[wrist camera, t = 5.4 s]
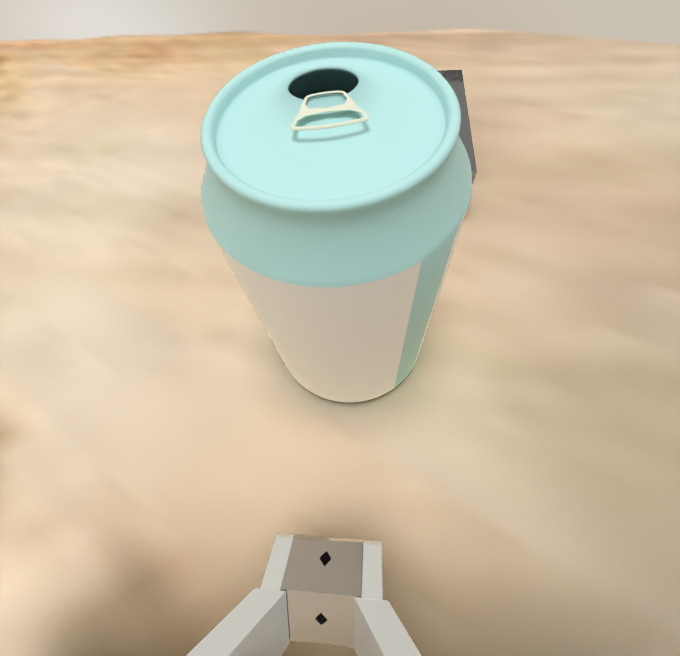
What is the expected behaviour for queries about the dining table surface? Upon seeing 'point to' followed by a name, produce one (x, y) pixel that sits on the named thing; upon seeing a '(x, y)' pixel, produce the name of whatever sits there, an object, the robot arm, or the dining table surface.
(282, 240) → the can
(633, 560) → the dining table surface
